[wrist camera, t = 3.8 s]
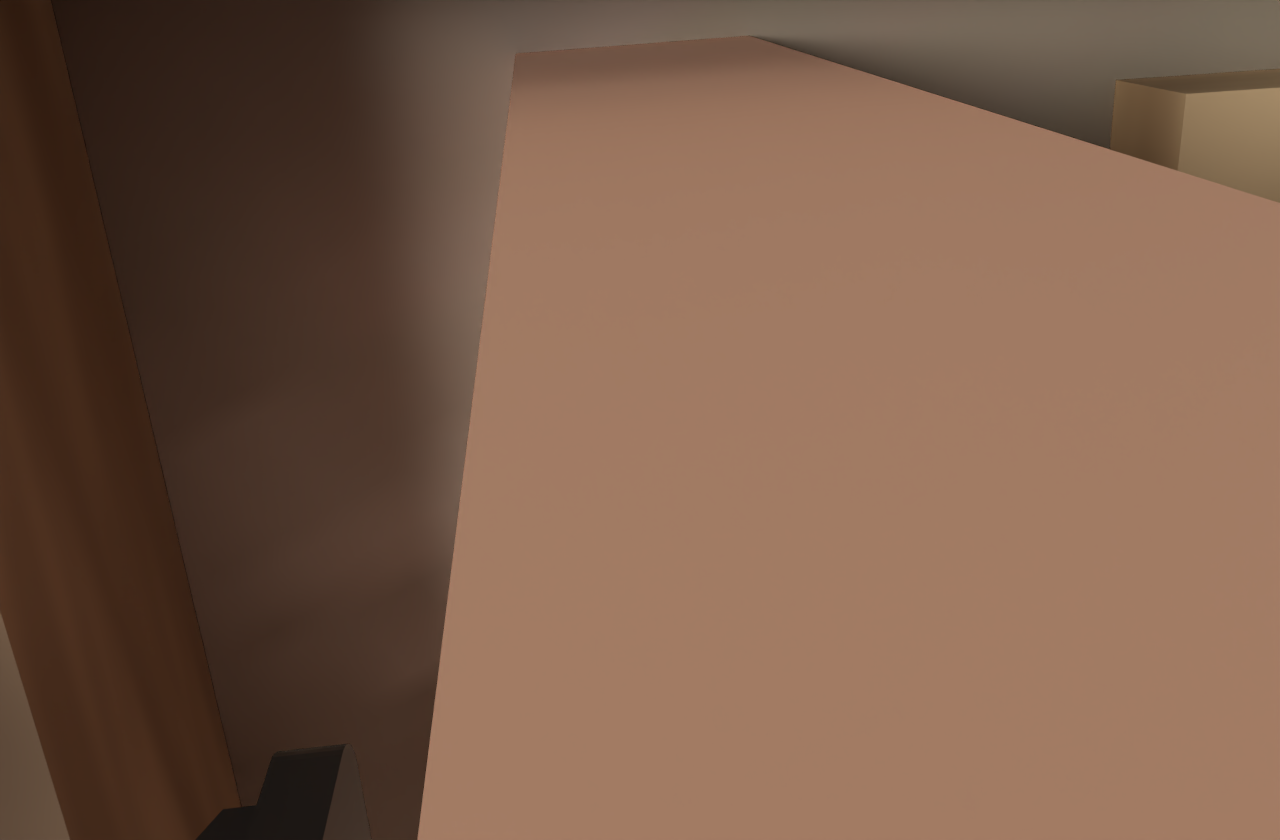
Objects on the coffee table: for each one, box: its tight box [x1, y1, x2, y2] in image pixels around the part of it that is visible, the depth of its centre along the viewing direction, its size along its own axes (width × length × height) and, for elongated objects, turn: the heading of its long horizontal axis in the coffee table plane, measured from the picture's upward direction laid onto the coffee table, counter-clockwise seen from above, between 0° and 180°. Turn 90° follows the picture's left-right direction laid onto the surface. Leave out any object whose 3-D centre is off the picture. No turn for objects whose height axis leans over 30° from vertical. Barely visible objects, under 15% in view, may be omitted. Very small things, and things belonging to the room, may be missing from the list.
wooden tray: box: [0, 0, 241, 840], centre depth 15 cm, size 25×20×5 cm
